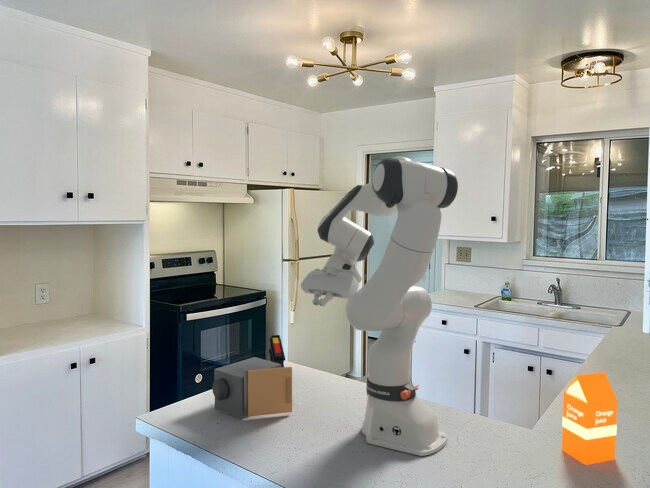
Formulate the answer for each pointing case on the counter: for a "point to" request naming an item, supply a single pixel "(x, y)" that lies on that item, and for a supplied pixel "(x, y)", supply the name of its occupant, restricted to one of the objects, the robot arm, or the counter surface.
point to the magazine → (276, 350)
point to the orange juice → (589, 419)
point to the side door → (267, 391)
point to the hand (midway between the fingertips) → (317, 304)
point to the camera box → (235, 384)
